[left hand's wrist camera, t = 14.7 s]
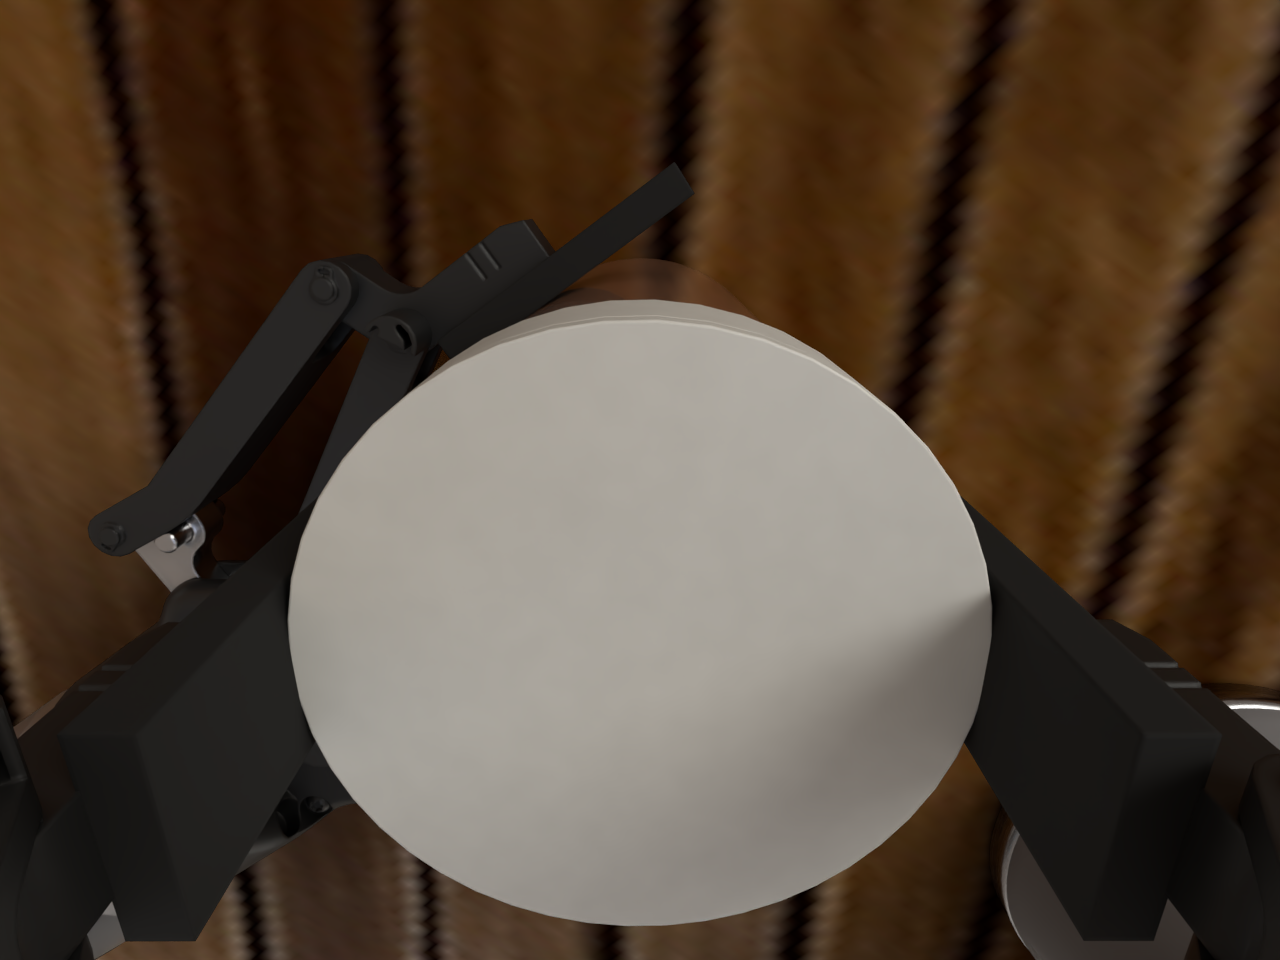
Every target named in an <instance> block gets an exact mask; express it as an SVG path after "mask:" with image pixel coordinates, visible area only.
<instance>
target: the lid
mask: <svg viewBox="0 0 1280 960" xmlns="http://www.w3.org/2000/svg"><path fill="white" fill-rule="evenodd" d="M287 621H288V636H289V645H290V651H291V657H292V662H293V668H294V673H295V678H296V683H297V688H298V693H299V698H300V702H301V706H302V709H303V712H304V714H305V717H306V720H307V722H308V725H309V728H310V730H311V733H312V735H313V737H314V739H315V741H316V742H317V744H318V746H319V748H320V750H321V752H322V753H323V755H324V757H325V759H326V761H327V763H328V764H329V766H330V768H331V769H332V771H333V772H334V774H335V775H336V776H337V778H338V779H339V780H340V782H341V783H342V785H343V786H344V787H345V789H346V790H347V791H348V793H349V794H350V796H351V797H352V798H353V800H354V801H355V802H356V803H357V804H358V805H359V806H360V807H361V808H362V809H363V810H364V811H365V812H366V813H367V814H368V815H369V817H370V818H371V819H372V820H373V821H374V822H375V823H376V824H377V825H378V826H379V827H380V828H381V829H382V830H383V831H385V832H386V833H387V834H388V835H389V836H391V837H392V838H393V839H394V840H395V841H397V842H398V843H399V844H400V845H401V846H403V847H404V848H405V849H406V850H407V851H408V852H410V853H411V854H413V855H414V856H416V857H417V858H419V859H420V860H422V861H423V862H425V863H426V864H428V865H430V866H431V867H433V868H434V869H436V870H437V871H439V872H440V873H442V874H444V875H446V876H447V877H449V878H451V879H453V880H455V881H457V882H459V883H461V884H463V885H465V886H467V887H469V888H471V889H473V890H474V891H477V892H479V893H482V894H484V895H487V896H489V897H492V898H495V899H497V900H500V901H502V902H505V903H507V904H510V905H513V906H516V907H520V908H523V909H527V910H530V911H534V912H537V913H541V914H544V915H548V916H553V917H558V918H564V919H570V920H575V921H581V922H586V923H597V924H610V925H622V926H653V925H673V924H682V923H691V922H700V921H707V920H712V919H717V918H721V917H726V916H731V915H736V914H740V913H744V912H748V911H751V910H754V909H757V908H760V907H763V906H767V905H770V904H773V903H776V902H779V901H782V900H784V899H787V898H789V897H791V896H793V895H796V894H798V893H800V892H803V891H805V890H807V889H810V888H812V887H814V886H817V885H818V884H820V883H822V882H824V881H825V880H827V879H829V878H831V877H833V876H834V875H836V874H838V873H840V872H841V871H843V870H845V869H847V868H849V867H850V866H852V865H853V864H854V863H856V862H857V861H859V860H860V859H861V858H863V857H864V856H866V855H867V854H868V853H870V852H871V851H873V850H874V849H875V848H877V847H878V846H880V845H881V844H882V843H883V842H884V841H885V840H887V839H888V838H889V837H890V836H891V835H892V834H893V833H894V832H895V831H896V830H898V829H899V828H900V827H901V826H902V825H903V824H904V823H905V822H906V821H907V820H909V819H910V818H911V816H912V815H913V814H914V813H915V812H916V811H917V810H918V808H919V807H920V806H921V805H922V804H923V803H924V801H925V800H926V799H927V798H928V797H929V796H930V795H931V793H932V792H933V791H934V790H935V789H936V787H937V786H938V784H939V783H940V781H941V780H942V778H943V777H944V775H945V774H946V772H947V771H948V769H949V768H950V766H951V765H952V763H953V762H954V760H955V758H956V757H957V755H958V753H959V751H960V749H961V747H962V745H963V743H964V740H965V738H966V736H967V734H968V732H969V730H970V728H971V726H972V724H973V722H974V719H975V715H976V712H977V709H978V705H979V701H980V696H981V692H982V686H983V681H984V676H985V671H986V665H987V660H988V655H989V649H990V643H991V637H992V601H991V594H990V587H989V581H988V574H987V567H986V562H985V559H984V556H983V553H982V549H981V546H980V543H979V540H978V536H977V533H976V530H975V527H974V524H973V522H972V520H971V518H970V516H969V514H968V511H967V509H966V507H965V505H964V503H963V501H962V499H961V497H960V495H959V493H958V491H957V489H956V487H955V485H954V483H953V482H952V481H951V479H950V478H949V476H948V475H947V473H946V472H945V471H944V469H943V468H942V466H941V465H940V464H939V462H938V461H937V459H936V458H935V456H934V455H933V454H932V452H931V451H930V449H929V448H928V447H927V446H926V445H925V443H924V442H923V441H922V440H921V439H920V438H919V437H918V436H917V435H916V434H915V433H914V432H913V431H912V430H911V429H910V428H909V427H908V426H907V425H906V424H905V423H904V421H903V420H902V419H901V418H900V417H899V416H898V415H897V414H896V413H895V412H894V411H892V410H891V409H890V408H889V407H887V406H886V405H885V404H884V403H883V402H881V401H880V400H879V399H878V398H876V397H875V396H874V395H873V394H872V393H870V392H869V391H868V390H867V389H865V388H864V387H863V386H862V385H861V384H859V383H858V382H857V381H856V380H854V379H853V378H852V377H851V376H849V375H848V374H847V373H846V372H844V371H843V370H842V369H840V368H839V367H838V366H837V365H835V364H834V363H833V362H831V361H830V360H829V359H828V358H826V357H825V356H824V355H822V354H821V353H820V352H818V351H816V350H814V349H813V348H811V347H809V346H807V345H806V344H804V343H802V342H800V341H799V340H797V339H795V338H794V337H792V336H790V335H788V334H787V333H785V332H783V331H780V330H778V329H775V328H773V327H770V326H768V325H765V324H763V323H761V322H758V321H756V320H753V319H751V318H748V317H746V316H743V315H739V314H735V313H731V312H727V311H723V310H719V309H715V308H711V307H707V306H703V305H699V304H690V303H681V302H673V301H664V300H612V301H604V302H598V303H591V304H585V305H579V306H572V307H566V308H562V309H559V310H556V311H552V312H549V313H546V314H542V315H539V316H536V317H532V318H529V319H526V320H523V321H521V322H518V323H516V324H514V325H512V326H510V327H507V328H505V329H503V330H501V331H499V332H496V333H494V334H492V335H490V336H488V337H485V338H483V339H482V340H480V341H479V342H477V343H476V344H474V345H472V346H471V347H469V348H468V349H466V350H465V351H463V352H461V353H460V354H458V355H457V356H455V357H454V358H452V359H451V360H449V361H448V362H446V363H445V364H444V365H443V366H441V367H440V368H439V369H438V370H436V371H435V372H434V373H433V374H432V375H430V376H429V377H428V378H427V379H425V380H424V381H423V382H422V383H420V384H419V385H418V386H417V387H416V388H414V389H413V390H412V391H411V392H409V393H408V394H407V395H406V396H405V397H404V398H402V399H401V400H400V401H399V402H398V403H397V404H395V405H394V406H393V407H392V408H391V409H390V410H388V411H387V412H386V413H385V414H384V415H383V416H381V417H380V418H379V419H378V420H377V421H376V422H375V423H373V424H372V426H371V427H370V428H369V429H368V430H367V431H366V432H365V434H364V435H363V436H362V437H361V438H360V439H359V441H358V442H357V443H356V444H355V445H354V446H353V448H352V449H351V450H350V451H349V452H348V453H347V454H346V456H345V457H344V458H343V459H342V461H341V462H340V464H339V465H338V467H337V469H336V470H335V472H334V473H333V475H332V477H331V478H330V480H329V481H328V483H327V485H326V486H325V488H324V489H323V491H322V493H321V494H320V496H319V497H318V500H317V502H316V504H315V507H314V509H313V511H312V514H311V516H310V518H309V521H308V523H307V525H306V528H305V530H304V532H303V535H302V537H301V541H300V545H299V549H298V553H297V557H296V561H295V565H294V569H293V573H292V577H291V585H290V596H289V607H288V618H287Z"/></svg>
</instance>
